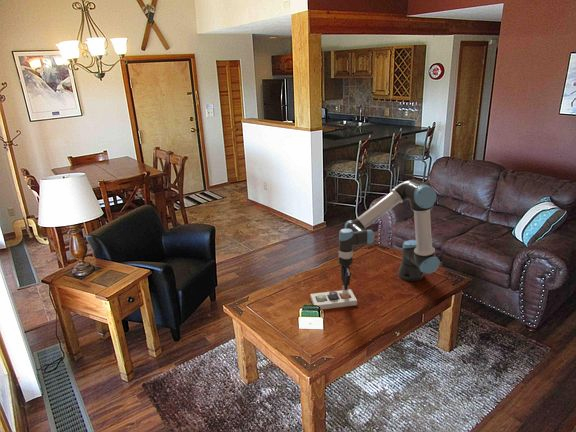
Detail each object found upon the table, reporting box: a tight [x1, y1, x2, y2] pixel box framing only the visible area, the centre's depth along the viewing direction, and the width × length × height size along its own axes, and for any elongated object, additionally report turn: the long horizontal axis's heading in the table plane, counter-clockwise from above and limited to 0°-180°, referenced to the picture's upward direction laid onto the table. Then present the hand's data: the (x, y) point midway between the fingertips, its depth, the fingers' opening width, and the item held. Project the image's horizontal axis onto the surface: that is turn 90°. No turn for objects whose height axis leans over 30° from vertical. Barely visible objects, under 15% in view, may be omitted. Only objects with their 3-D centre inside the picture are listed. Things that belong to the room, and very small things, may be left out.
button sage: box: [317, 295, 326, 302], centre depth 226 cm, size 5×5×3 cm
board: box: [310, 288, 358, 310], centre depth 227 cm, size 24×12×3 cm, turn 99°
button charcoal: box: [328, 290, 338, 301], centre depth 227 cm, size 5×5×3 cm
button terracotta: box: [341, 292, 350, 299], centre depth 228 cm, size 5×5×3 cm
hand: (345, 293), depth 227 cm, fingers closed
